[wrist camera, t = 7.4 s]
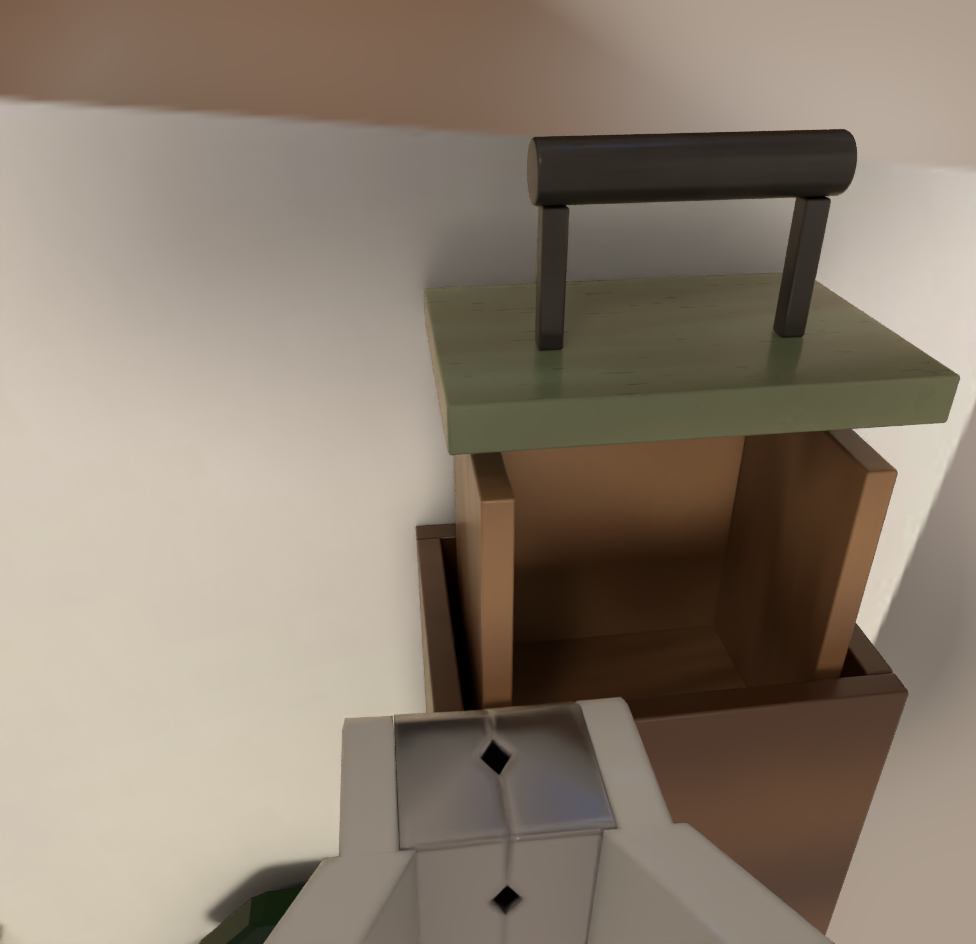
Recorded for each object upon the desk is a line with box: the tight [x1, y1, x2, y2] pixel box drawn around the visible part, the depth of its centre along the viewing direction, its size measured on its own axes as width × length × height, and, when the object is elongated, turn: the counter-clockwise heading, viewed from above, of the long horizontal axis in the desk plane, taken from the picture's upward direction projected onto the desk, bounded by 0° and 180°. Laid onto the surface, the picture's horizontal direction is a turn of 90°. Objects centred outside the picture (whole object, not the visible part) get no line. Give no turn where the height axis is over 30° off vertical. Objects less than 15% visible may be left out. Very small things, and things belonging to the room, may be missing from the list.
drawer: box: [424, 129, 960, 711], centre depth 23 cm, size 18×11×8 cm, turn 0°
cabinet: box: [416, 524, 908, 935], centre depth 29 cm, size 15×13×10 cm
